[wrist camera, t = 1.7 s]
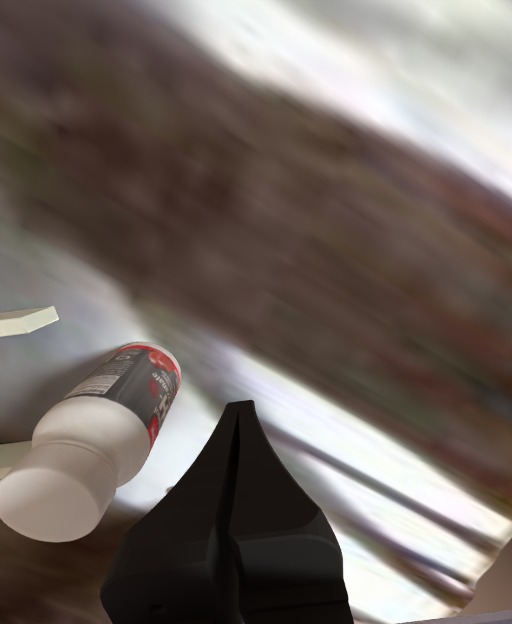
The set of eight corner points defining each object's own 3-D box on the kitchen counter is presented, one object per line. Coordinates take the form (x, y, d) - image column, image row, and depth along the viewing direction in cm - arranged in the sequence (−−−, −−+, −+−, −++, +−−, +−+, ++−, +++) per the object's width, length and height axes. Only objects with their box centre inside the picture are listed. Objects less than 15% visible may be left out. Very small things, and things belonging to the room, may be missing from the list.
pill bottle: (194, 388, 19) (143, 535, 10) (133, 409, 19) (28, 568, 10) (163, 329, 17) (67, 436, 8) (98, 353, 18) (-67, 481, 9)
